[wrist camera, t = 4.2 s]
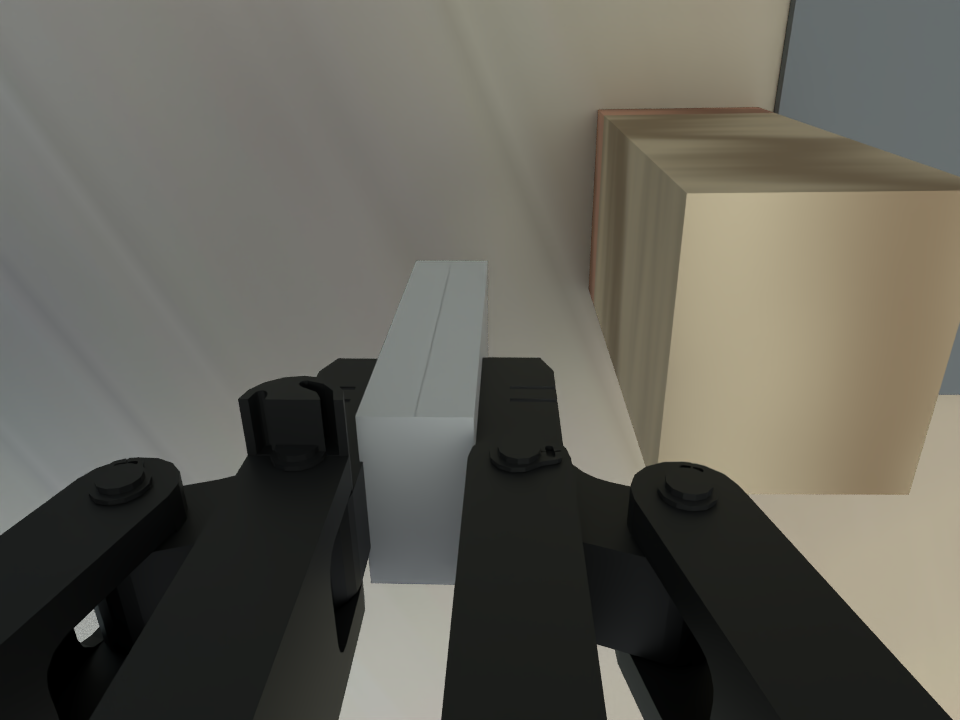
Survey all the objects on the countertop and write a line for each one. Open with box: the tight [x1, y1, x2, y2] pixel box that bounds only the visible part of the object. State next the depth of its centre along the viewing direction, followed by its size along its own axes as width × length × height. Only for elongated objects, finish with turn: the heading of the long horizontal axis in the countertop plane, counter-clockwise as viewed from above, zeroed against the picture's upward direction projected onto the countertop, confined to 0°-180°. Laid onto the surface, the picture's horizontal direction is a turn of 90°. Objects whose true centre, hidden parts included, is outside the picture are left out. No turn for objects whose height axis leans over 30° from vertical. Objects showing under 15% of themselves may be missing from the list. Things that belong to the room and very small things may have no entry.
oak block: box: [589, 107, 960, 495], centre depth 18 cm, size 5×6×12 cm
